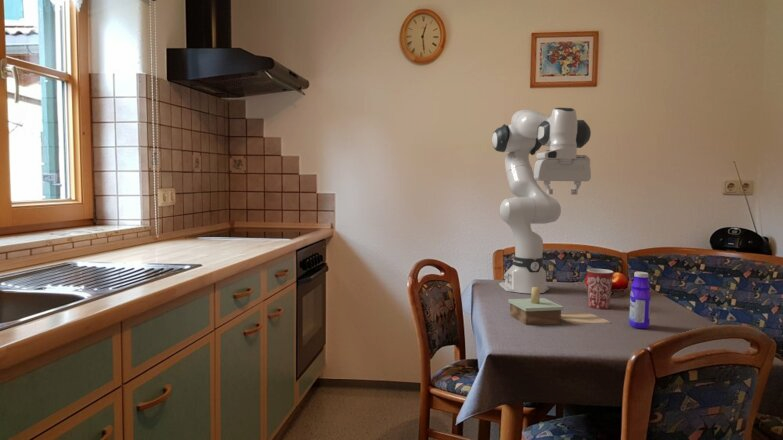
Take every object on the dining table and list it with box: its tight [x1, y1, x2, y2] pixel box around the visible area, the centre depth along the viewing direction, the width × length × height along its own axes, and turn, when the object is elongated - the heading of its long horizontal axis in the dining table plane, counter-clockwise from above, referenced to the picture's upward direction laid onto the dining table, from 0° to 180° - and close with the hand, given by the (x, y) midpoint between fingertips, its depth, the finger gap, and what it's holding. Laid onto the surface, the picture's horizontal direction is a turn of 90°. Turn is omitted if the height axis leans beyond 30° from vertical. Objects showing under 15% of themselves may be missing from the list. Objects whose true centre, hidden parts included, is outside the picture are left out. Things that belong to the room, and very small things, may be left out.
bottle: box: [628, 271, 652, 329], centre depth 176 cm, size 7×6×17 cm
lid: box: [507, 287, 564, 311], centre depth 182 cm, size 13×13×6 cm
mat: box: [561, 311, 613, 325], centre depth 185 cm, size 14×14×1 cm
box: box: [509, 303, 562, 326], centre depth 182 cm, size 12×12×5 cm
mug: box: [587, 268, 615, 310], centre depth 205 cm, size 13×9×14 cm
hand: (562, 194), depth 193 cm, fingers open, 8 cm apart
